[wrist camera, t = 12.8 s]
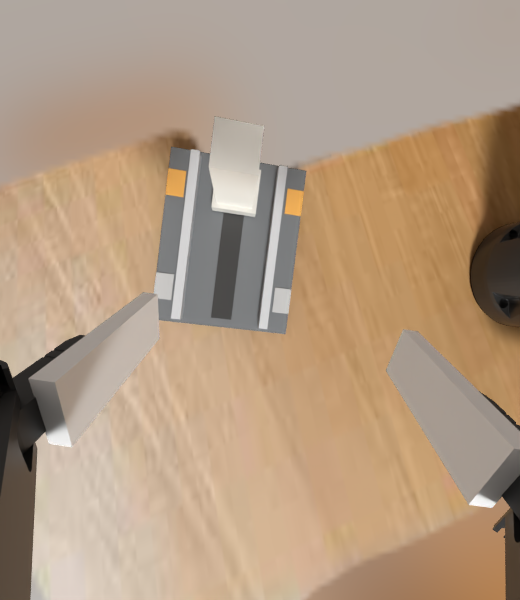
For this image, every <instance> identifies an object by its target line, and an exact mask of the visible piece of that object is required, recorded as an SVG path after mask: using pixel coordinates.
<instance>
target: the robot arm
mask: <svg viewBox="0 0 520 600" xmlns="http://www.w3.org/2000/svg"><path fill="white" fill-rule="evenodd" d="M471 284H472V290H473V293H474V296H475V299H476V301H477V303H478V304H479V306H480V307H481V309H482V310H483V311H484V312H485V313H486V314H487V315H488V316H489V317H490V318H491V319H493V320H495V321H496V322H498V323H501V324H504V325H508V326H515V327H520V222H516V223H512V224H508V225H505V226H502V227H500V228H498V229H496V230H495V231H493V232H492V233H491V234H489V235H488V236H487V237H486V238H485V239H484V240H483V242H482V243H481V245H480V246H479V248H478V249H477V252H476V254H475V256H474V259H473V263H472V268H471ZM159 338H160V337H159V313H158V294H152V293H145V292H143V293H142V294H140V295H139V296H138V297H136V298H135V299H134V300H132V301H131V302H130V303H128V304H127V305H126V306H124V307H123V308H122V309H120V310H119V311H118V312H116V313H115V314H114V315H112V316H111V317H110V318H108V319H107V320H106V321H104V322H103V323H102V324H100V325H99V326H98V327H96V328H95V329H94V330H92V331H91V332H90V333H88V334H87V335H86V336H84V335H79V336H76V337H74V338H71V339H69V340H67V341H65V342H63V343H62V344H61V345H59V346H58V347H56V348H55V349H54V351H51V352H49V353H48V354H46V355H45V357H44V358H43V357H42V358H41V359H39V360H38V361H36V362H35V363H34V364H32V365H31V366H29V367H28V368H26V369H25V370H24V371H22V372H21V373H19V374H18V375H16V376H15V377H14V378H12V375H11V373H10V370H9V367H8V364H7V363H6V362H4V361H1V360H0V600H30V593H31V572H32V551H33V529H34V508H35V486H36V465H37V447H36V443H35V442H36V441H37V440H38V438H39V437H40V436H41V435H42V434H43V433H44V432H46V435H47V438H48V442H49V444H54V445H60V446H67V447H73V446H74V444H75V443H76V442H77V441H78V439H79V438H80V437H81V436H82V434H83V433H84V432H85V431H86V429H87V428H88V427H89V426H90V424H91V423H92V422H93V421H94V419H95V418H96V417H97V416H98V414H99V413H100V412H101V411H102V409H103V408H104V407H105V406H106V404H107V403H108V402H109V401H110V399H111V398H112V397H113V396H114V394H115V393H116V392H117V391H118V389H119V388H120V387H121V386H122V384H123V383H124V382H125V381H126V379H127V378H128V377H129V376H130V374H131V373H132V372H133V371H134V369H135V368H136V367H137V366H138V365H139V363H140V362H141V361H142V360H143V358H144V357H145V356H146V355H147V353H148V352H149V351H150V350H151V348H152V347H153V346H154V345H155V343H156V342H157V341H158V340H159ZM386 372H387V373H388V375H389V377H390V378H391V380H392V381H393V383H394V385H395V386H396V388H397V389H398V391H399V393H400V394H401V396H402V398H403V399H404V401H405V402H406V404H407V406H408V407H409V409H410V411H411V412H412V414H413V415H414V417H415V419H416V420H417V422H418V423H419V425H420V427H421V428H422V430H423V432H424V433H425V435H426V436H427V438H428V440H429V441H430V443H431V444H432V446H433V448H434V449H435V451H436V453H437V454H438V456H439V457H440V459H441V461H442V462H443V464H444V466H445V467H446V469H447V470H448V472H449V474H450V475H451V477H452V478H453V480H454V482H455V483H456V485H457V487H458V488H459V490H460V491H461V493H462V495H463V496H464V498H465V500H466V501H467V503H468V504H469V505H475V506H482V507H489V508H492V507H493V506H494V505H495V504H496V503H497V501H498V500H499V499H500V498H501V497H503V498H504V500H505V501H506V502H507V503H508V505H509V506H510V509H509V510H508V511H507V512H506V513H505V514H504V515H503V516H502V518H501V519H500V520H499V521H498V522H497V523H496V524H495V525H494V528H493V530H494V531H496V532H498V531H499V530H500V529H501V528H505V536H504V538H505V554H506V555H505V561H506V562H505V565H506V600H520V426H519V425H516V422H515V421H514V420H513V419H512V418H511V417H510V416H509V415H506V412H505V411H504V410H503V409H501V408H500V407H499V406H498V405H497V404H496V403H495V402H494V401H493V400H491V399H490V398H488V397H487V396H485V395H484V394H482V393H481V392H480V391H478V390H477V389H476V388H475V387H474V386H473V385H472V384H471V383H470V382H469V381H468V380H467V379H466V378H465V377H464V376H463V375H462V374H461V373H460V372H459V371H458V370H457V369H456V368H455V367H453V366H452V365H451V364H450V363H449V362H448V361H447V360H446V359H445V358H444V357H443V356H442V355H441V354H440V353H439V352H438V351H437V350H436V349H435V348H434V347H433V346H432V345H431V344H430V343H429V342H428V341H427V340H426V339H425V338H424V337H423V336H422V335H421V334H420V333H419V332H418V331H411V330H404V329H403V331H402V333H401V336H400V338H399V341H398V343H397V345H396V348H395V350H394V352H393V355H392V357H391V360H390V362H389V364H388V367H387V369H386Z"/></svg>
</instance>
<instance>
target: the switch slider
mask: <svg viewBox="0 0 520 600" xmlns="http://www.w3.org/2000/svg"><path fill="white" fill-rule="evenodd" d="M263 134H264V126H262V125H257V124H252V123H247V122H241V121H237V120H231V119H226V118H221V117H216V116H215V118H214V126H213V135H212V143H211V152H210V159H209V171H210V176H211V180H212V185H213V198H212V206H211V207H212V210H213V211H219V212H225V213H232V214H238V215H245V216H251V217H255V215H256V208H257V200H258V192H259V184H260V176H261V170H259V166H260V158H261V150H262V142H263Z"/></svg>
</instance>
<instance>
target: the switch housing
mask: <svg viewBox="0 0 520 600" xmlns="http://www.w3.org/2000/svg"><path fill="white" fill-rule="evenodd" d="M209 159H210V154H209V153H204V152H200V151H199V150H194V149H191V150H187V149H181V148H176V147H171V154H170V162H169V168H168V177H167V185H166V196H165V205H164V213H163V222H162V230H161V239H160V247H159V256H158V264H157V272H156V279H155V288H154V294H158V313H159V320H163V321H172V322H181V323H190V324H199V325H208V326H217V327H226V328H235V329H244V330H253V331H262V332H271V333H280V334H286V326H287V318H288V312H289V304H290V296H291V287H292V279H293V271H294V263H295V255H296V248H297V240H298V232H299V224H300V216H301V210H302V202H303V194H304V185H305V177H306V171H303V170H298V169H292V168H288V166H282V165H279V166H275V165H270V164H264V163H260V166H259V170H261V176H260V184H259V192H258V200H257V208H256V215H255V217H251V216H245V215H238V214H232V213H225V212H219V211H213V210H212V207H211V206H212V198H213V185H212V180H211V176H210V171H209Z"/></svg>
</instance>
